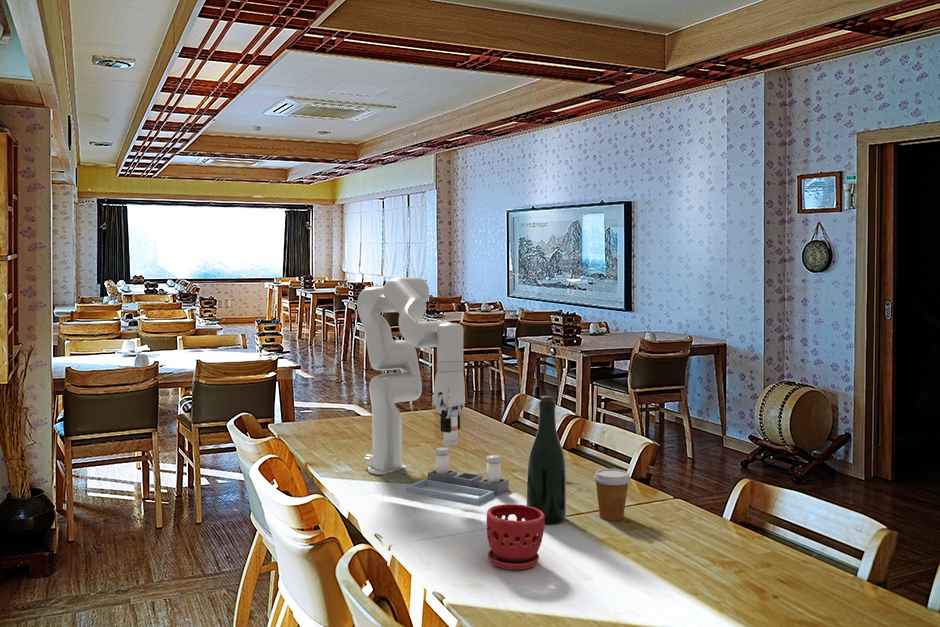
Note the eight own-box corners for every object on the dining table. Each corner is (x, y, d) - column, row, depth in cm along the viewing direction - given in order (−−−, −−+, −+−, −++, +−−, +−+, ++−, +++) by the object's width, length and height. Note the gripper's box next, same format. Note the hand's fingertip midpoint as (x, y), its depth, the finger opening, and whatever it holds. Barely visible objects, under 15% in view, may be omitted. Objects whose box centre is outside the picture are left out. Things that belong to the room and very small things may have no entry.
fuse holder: (425, 488, 245) (425, 473, 245) (440, 481, 252) (440, 467, 252) (496, 501, 233) (496, 485, 232) (510, 494, 239) (510, 479, 239)
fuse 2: (483, 491, 237) (483, 457, 236) (491, 487, 240) (491, 454, 240) (496, 493, 235) (496, 459, 234) (503, 490, 238) (503, 456, 238)
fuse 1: (432, 482, 246) (432, 449, 246) (440, 479, 250) (440, 446, 249) (444, 484, 244) (444, 451, 243) (451, 481, 248) (451, 448, 247)
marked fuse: (440, 445, 232) (440, 410, 232) (448, 442, 236) (448, 408, 235) (452, 447, 230) (452, 411, 230) (460, 444, 234) (460, 409, 233)
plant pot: (501, 578, 177) (502, 523, 176) (477, 557, 189) (477, 506, 188) (554, 569, 182) (555, 516, 181) (527, 549, 194) (527, 500, 193)
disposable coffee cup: (608, 524, 212) (608, 479, 211) (586, 514, 221) (587, 470, 220) (637, 519, 216) (637, 474, 216) (614, 509, 225) (615, 466, 224)
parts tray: (406, 496, 237) (406, 486, 237) (424, 489, 244) (424, 479, 244) (477, 509, 224) (477, 499, 224) (494, 501, 232) (494, 491, 232)
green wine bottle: (519, 515, 219) (520, 394, 217) (553, 511, 223) (555, 391, 221) (538, 527, 210) (539, 400, 207) (573, 522, 214) (574, 397, 212)
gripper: (455, 362, 241) (455, 424, 242) (422, 369, 227) (422, 434, 228) (476, 364, 237) (476, 426, 238) (445, 371, 223) (445, 437, 224)
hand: (450, 429), depth 233 cm, fingers closed on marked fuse, 4 cm apart
